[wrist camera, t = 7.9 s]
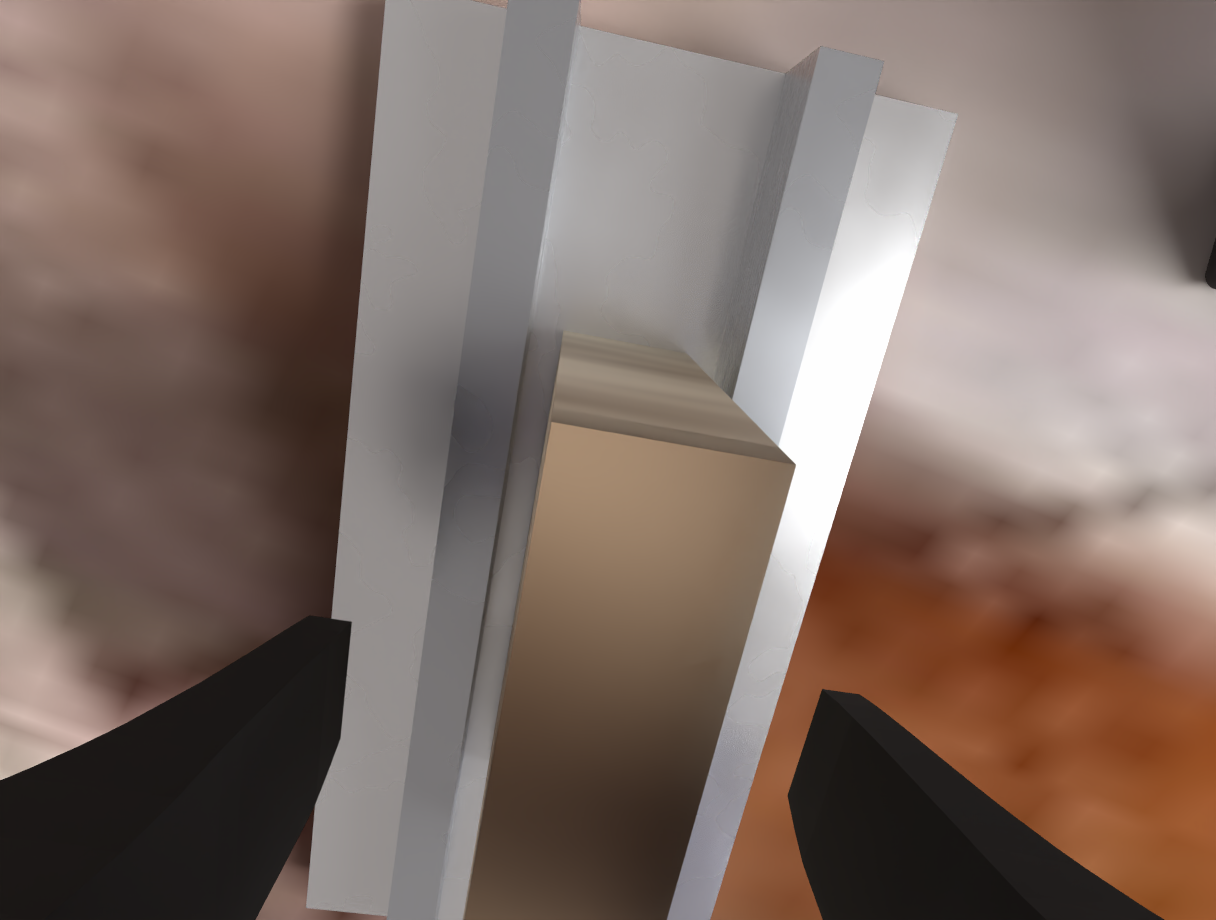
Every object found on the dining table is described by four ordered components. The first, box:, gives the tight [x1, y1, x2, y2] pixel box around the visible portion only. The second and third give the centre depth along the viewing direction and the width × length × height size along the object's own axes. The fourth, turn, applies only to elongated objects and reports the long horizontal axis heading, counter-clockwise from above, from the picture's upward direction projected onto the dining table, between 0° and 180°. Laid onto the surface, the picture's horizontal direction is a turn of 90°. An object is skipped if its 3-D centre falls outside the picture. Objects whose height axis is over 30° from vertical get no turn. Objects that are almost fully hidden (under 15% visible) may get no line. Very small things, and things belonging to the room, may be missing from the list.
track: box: [306, 0, 958, 920], centre depth 14 cm, size 20×10×3 cm, turn 169°
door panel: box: [463, 330, 796, 920], centre depth 11 cm, size 10×2×7 cm, turn 169°
